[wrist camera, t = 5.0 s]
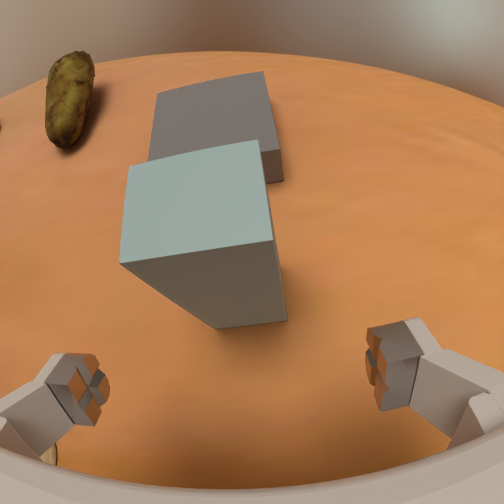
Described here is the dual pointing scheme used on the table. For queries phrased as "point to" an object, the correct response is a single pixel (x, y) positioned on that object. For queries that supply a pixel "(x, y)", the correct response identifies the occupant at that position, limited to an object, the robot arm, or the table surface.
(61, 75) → the potato
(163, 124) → the slate slab
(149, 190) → the teal block
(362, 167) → the table surface
